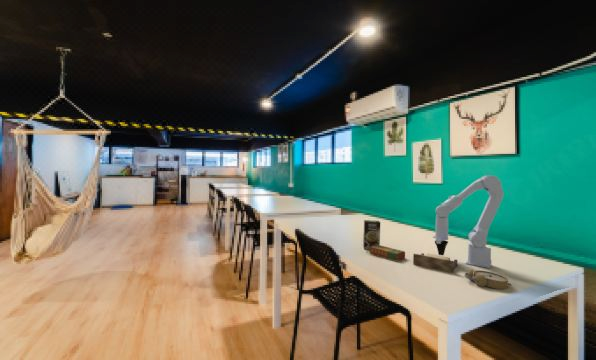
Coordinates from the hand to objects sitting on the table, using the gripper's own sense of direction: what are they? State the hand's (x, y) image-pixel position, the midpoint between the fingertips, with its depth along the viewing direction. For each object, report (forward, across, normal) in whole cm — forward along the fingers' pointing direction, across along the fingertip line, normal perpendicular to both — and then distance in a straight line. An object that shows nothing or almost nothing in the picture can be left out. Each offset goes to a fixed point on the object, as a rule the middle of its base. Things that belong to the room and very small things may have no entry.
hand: (441, 254), depth 137 cm
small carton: (+3, +11, 0) cm, 12 cm away
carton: (+3, +14, -23) cm, 27 cm away
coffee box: (+2, +5, -36) cm, 37 cm away
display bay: (+2, +11, 0) cm, 11 cm away
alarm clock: (+3, +22, +21) cm, 30 cm away
